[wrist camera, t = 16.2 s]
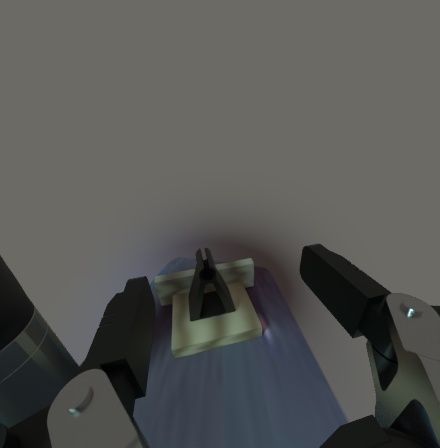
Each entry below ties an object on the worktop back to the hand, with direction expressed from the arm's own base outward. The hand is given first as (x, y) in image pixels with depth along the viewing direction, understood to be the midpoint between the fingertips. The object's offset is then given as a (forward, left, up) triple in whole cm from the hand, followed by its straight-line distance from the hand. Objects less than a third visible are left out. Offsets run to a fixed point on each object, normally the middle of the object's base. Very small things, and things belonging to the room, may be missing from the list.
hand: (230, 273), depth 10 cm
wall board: (0, +19, -28) cm, 34 cm away
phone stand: (0, +20, -26) cm, 33 cm away
